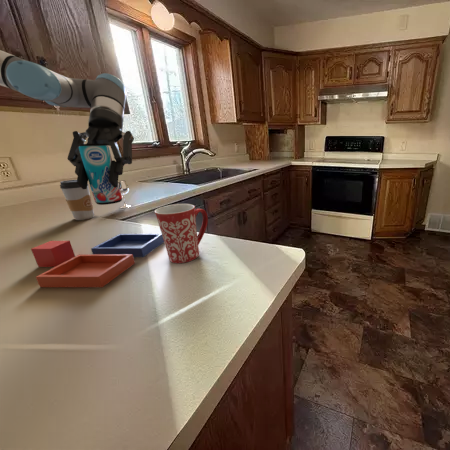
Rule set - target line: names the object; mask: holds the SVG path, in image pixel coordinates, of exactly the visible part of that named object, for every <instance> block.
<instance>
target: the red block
mask: <svg viewBox="0 0 450 450" xmlns="http://www.w3.org/2000/svg"><path fill="white" fill-rule="evenodd" d="M30 250H31V252H32V255H33V257H34V260H35V262H36V265H37V267H38V268H54V267H56V266H58V265H60V264H62V263H64V262H66V261H68V260H70V259H71V258H73V257H75V256H76V255H75V252H74V249H73V246H72V244H71V241H70V240H50V241H47V242H44V243H41V244H39V245H37V246H35V247H32V248H30Z"/></svg>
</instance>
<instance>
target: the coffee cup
mask: <svg viewBox="0 0 450 450" xmlns="http://www.w3.org/2000/svg"><path fill="white" fill-rule="evenodd" d="M59 183H60V184H59V187H60V190H61V192H62V195H63V196H64V198H65V202H66V204H67V206H68V208H69V210H70V212H71V214H72V217H73V219H75V220H76V221H83V220H89V219H92V218H94V217H95V212H94V205H93V201H92V197H91V193H90V188H89V184H87V189H82V188H81V187H80V186H79V185H78V184H77V179H69V180H68V179H67V180H61V181H59Z"/></svg>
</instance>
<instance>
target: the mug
mask: <svg viewBox="0 0 450 450" xmlns="http://www.w3.org/2000/svg"><path fill="white" fill-rule="evenodd" d="M199 213H201V216H202V223H201V225H200V226H201V227H200V229H199V231H198V230H197V220H196V218H197V216H198V215H199ZM154 214H155V216H156V219H157V222H158V226H159V229H160V232H161V233H160V234H162V236H163V240H164V242H163V244H164V245H165V251H166V253H167V256H168V259H169V262H171V263H172V264H185V263H189V262H192V261H194V260H196V259H197V258H198V257H199V256H200V248H199V245H200V243H201V241H202V239H203V238H204V235H205V232H206V231H207V227H208V224H209V223H208V222H209V218H208V217H209V216H208V212H207V211H206V210H205V209H203V208H196V206H195V205H194V204H191V203H174V204H169V205H163V206H161V207H158V208H156V209H154Z"/></svg>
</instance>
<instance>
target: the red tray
mask: <svg viewBox="0 0 450 450" xmlns="http://www.w3.org/2000/svg"><path fill="white" fill-rule="evenodd" d="M135 264H136V261H135V257H133V254H93V253H89V254H88V253H87V254H86V253H85V254H82V253H81V254H77V255H75V257H73V258H71V259H70V260H68V261H66V262H64V263H62V264H60V265H58V266H56V267H51V268H50V269H48V270H46V271H44V272H42V273H40V274H38V275H36V276H35V279H36V281H37V283H38V285H39V286H38V287H40V288H104V287H105V286H106V285H108V284H109V283H110V282H112V281H113V280H115V279H116V278H117V277H118V276H120V275H121V274H122V273H124V272H125V271H127V270H128V269H129V268H131V267H132V266H134V265H135Z"/></svg>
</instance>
